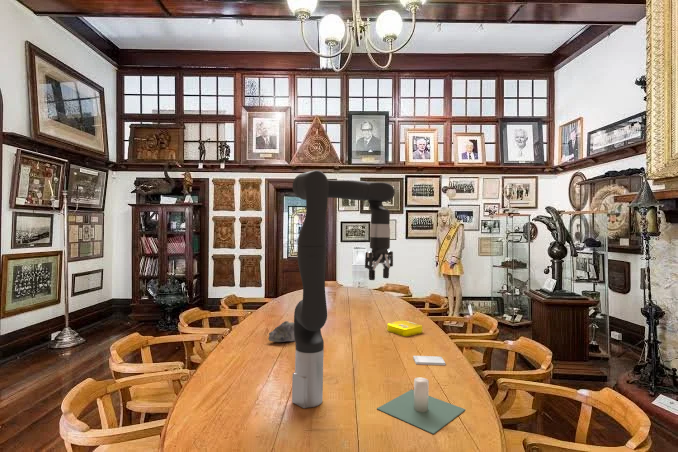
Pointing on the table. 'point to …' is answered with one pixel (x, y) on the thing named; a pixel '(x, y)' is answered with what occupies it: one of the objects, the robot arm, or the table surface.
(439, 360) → the hard drive
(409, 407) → the felt mat
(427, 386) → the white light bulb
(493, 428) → the table surface
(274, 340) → the mineral rock
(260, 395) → the table surface
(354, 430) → the table surface
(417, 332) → the element tile
